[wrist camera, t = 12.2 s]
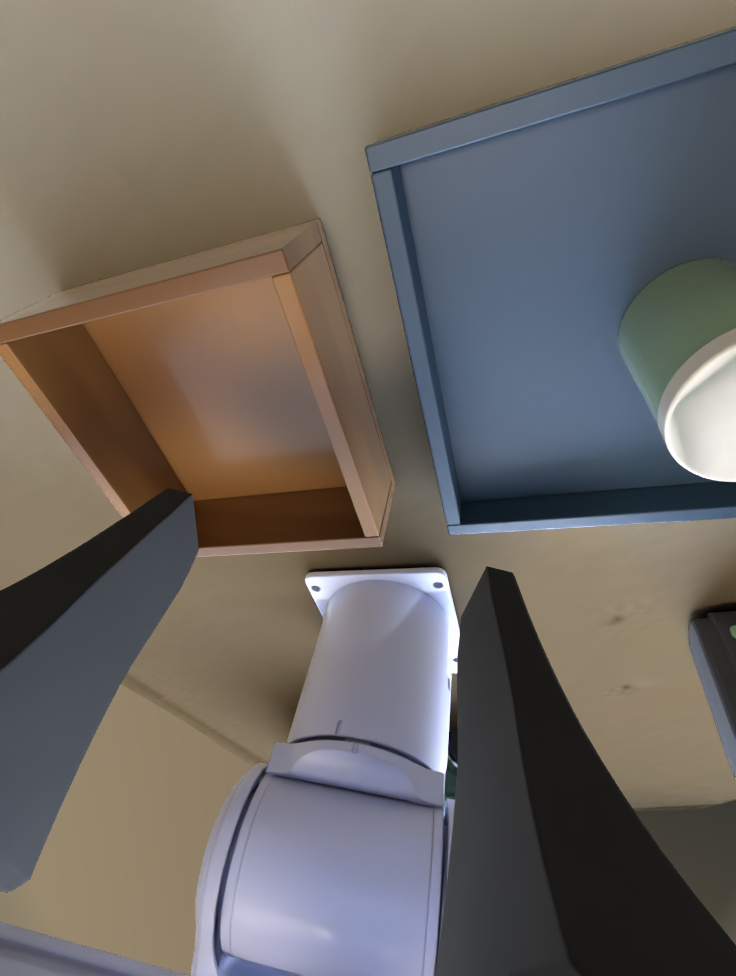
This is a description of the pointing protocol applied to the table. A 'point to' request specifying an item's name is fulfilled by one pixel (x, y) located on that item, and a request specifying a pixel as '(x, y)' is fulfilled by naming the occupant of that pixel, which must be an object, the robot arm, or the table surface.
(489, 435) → the tray
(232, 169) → the table surface
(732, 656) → the card reader
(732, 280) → the shaker
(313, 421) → the open wooden box
